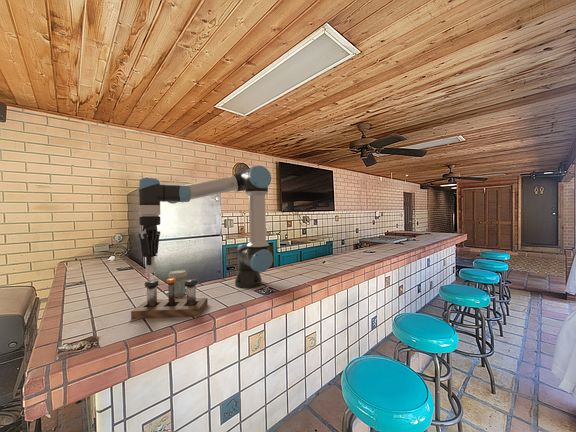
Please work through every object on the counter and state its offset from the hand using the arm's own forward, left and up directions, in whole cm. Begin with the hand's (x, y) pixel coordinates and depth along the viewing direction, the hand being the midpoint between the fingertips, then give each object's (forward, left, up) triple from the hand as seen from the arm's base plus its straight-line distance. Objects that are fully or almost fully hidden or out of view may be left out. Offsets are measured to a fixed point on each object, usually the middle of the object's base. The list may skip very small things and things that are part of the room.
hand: (150, 272), depth 98 cm
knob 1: (0, 0, -14) cm, 14 cm away
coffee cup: (-3, -19, -17) cm, 26 cm away
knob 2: (-16, 0, -14) cm, 21 cm away
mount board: (-8, 0, -17) cm, 19 cm away
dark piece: (-8, 0, -14) cm, 16 cm away
